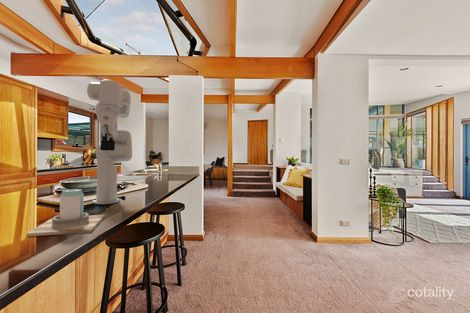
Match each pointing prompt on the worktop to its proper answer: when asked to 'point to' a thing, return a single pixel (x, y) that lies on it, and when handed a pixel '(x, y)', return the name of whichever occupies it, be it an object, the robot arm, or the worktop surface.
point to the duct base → (67, 225)
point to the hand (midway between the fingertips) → (107, 150)
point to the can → (71, 204)
